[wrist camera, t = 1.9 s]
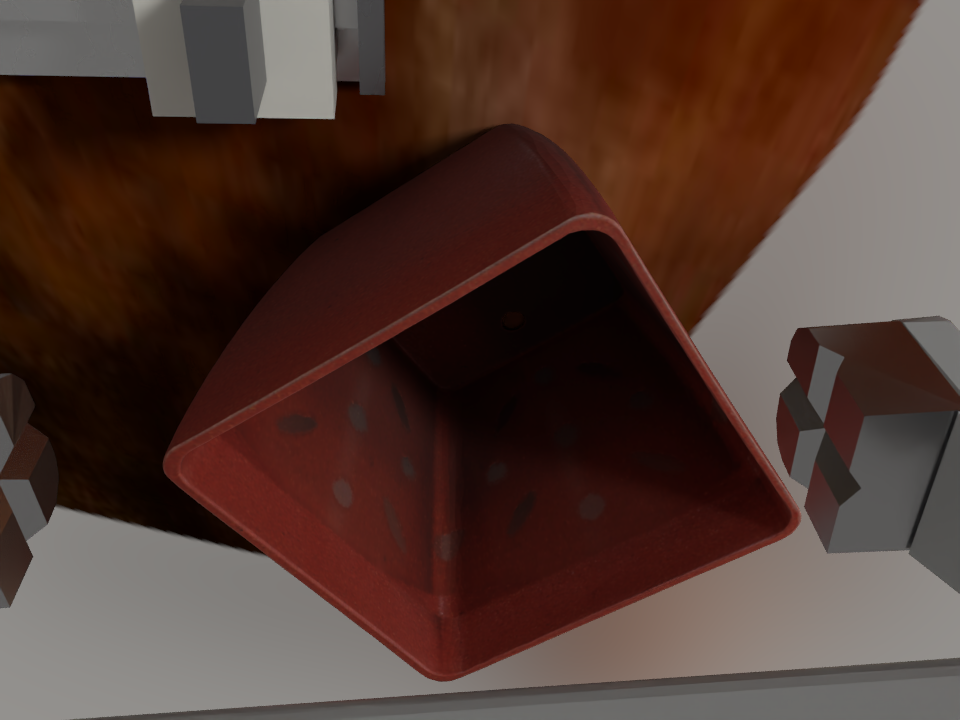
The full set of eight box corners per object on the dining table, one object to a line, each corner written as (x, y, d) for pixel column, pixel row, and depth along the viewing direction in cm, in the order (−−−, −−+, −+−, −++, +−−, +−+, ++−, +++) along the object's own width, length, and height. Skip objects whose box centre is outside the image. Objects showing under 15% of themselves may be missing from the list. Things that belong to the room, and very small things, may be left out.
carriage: (148, -109, 35) (89, -47, 28) (331, -103, 36) (318, -40, 29) (176, 69, 40) (130, 162, 33) (339, 72, 40) (329, 164, 33)
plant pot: (426, 451, 57) (438, 694, 44) (213, 234, 47) (146, 467, 34) (703, 304, 52) (811, 530, 39) (534, 21, 42) (604, 199, 28)
